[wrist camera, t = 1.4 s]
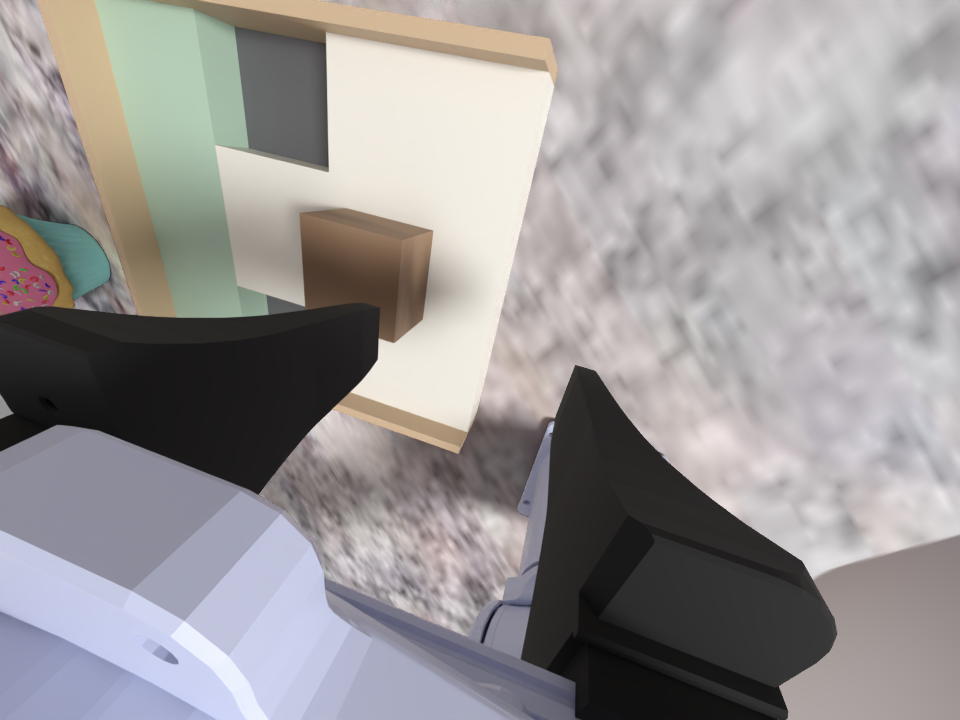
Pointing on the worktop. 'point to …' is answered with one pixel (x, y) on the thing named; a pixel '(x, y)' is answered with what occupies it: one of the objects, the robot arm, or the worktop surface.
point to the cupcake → (46, 263)
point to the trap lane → (311, 165)
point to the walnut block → (366, 265)
